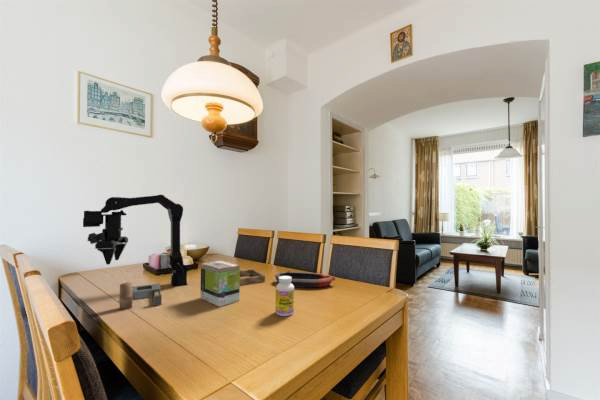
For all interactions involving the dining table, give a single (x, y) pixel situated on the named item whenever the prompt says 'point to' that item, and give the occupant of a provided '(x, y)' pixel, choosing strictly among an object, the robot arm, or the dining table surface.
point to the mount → (144, 291)
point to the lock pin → (157, 298)
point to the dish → (307, 279)
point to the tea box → (220, 282)
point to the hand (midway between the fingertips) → (112, 262)
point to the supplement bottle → (285, 296)
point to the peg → (126, 296)
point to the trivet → (250, 280)
